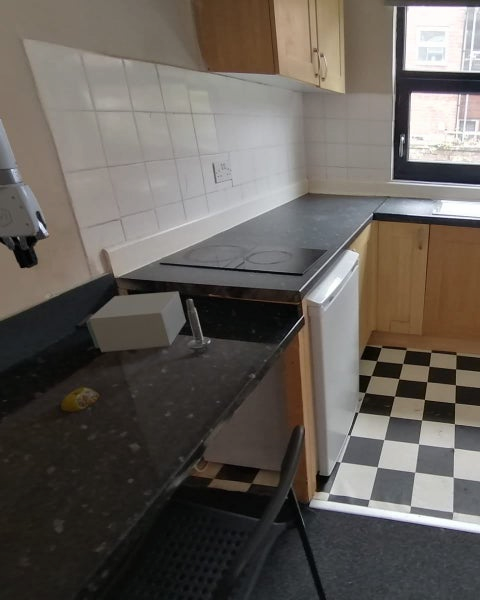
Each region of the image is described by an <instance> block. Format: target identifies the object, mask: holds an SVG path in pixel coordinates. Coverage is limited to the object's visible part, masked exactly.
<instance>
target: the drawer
mask: <svg viewBox="0 0 480 600" xmlns="http://www.w3.org/2000/svg"><path fill="white" fill-rule="evenodd" d="M93 315H94V314H93V313H88V314H87V315H85V316H84V318H82V319H81V320H80V321H79V322H77V323H76V324H75V325H74V329H75V330H76V331H81V330H83V329H88V332H89V334H90V337H91V340H92V342H93V345H94V348H95V349H100V347H99V344H98V342H97V339H96V336H95V333H94V331H93V328H92V325H91V323H90V320H89V319H90V318H91V317H92V316H93Z"/></svg>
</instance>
